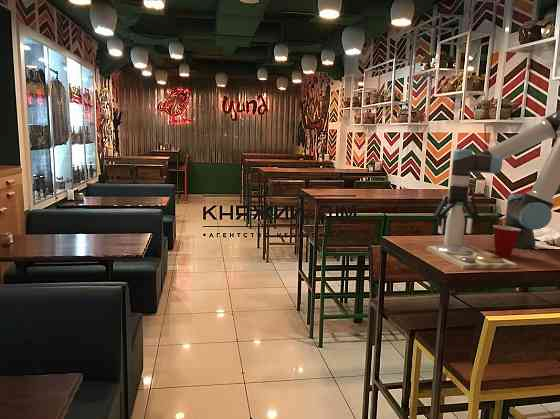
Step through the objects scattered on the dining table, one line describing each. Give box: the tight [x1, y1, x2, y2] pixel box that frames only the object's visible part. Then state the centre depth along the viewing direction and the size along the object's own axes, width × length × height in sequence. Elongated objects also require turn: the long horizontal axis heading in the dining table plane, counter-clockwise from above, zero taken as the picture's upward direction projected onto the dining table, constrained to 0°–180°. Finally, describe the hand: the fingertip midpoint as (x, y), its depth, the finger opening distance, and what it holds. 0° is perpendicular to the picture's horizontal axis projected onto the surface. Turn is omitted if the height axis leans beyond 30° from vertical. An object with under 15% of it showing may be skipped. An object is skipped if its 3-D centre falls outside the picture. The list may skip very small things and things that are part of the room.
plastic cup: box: [492, 224, 521, 257], centre depth 196 cm, size 11×11×12 cm
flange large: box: [435, 244, 473, 255], centre depth 194 cm, size 14×14×1 cm
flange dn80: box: [475, 254, 504, 263], centre depth 182 cm, size 10×10×1 cm
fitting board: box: [425, 245, 518, 270], centre depth 189 cm, size 22×28×2 cm
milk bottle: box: [443, 202, 466, 246], centre depth 207 cm, size 8×8×20 cm
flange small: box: [461, 257, 475, 263], centre depth 179 cm, size 5×5×1 cm
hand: (454, 233), depth 208 cm, fingers open, 13 cm apart
